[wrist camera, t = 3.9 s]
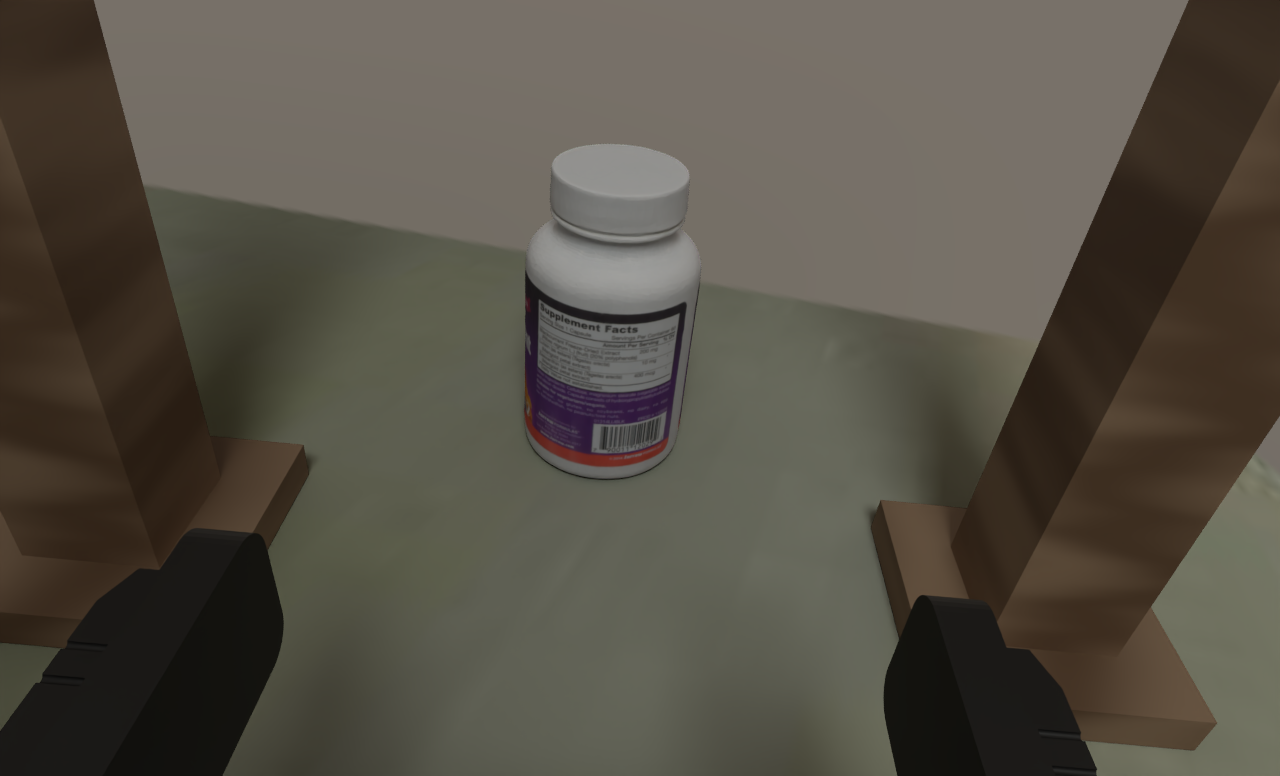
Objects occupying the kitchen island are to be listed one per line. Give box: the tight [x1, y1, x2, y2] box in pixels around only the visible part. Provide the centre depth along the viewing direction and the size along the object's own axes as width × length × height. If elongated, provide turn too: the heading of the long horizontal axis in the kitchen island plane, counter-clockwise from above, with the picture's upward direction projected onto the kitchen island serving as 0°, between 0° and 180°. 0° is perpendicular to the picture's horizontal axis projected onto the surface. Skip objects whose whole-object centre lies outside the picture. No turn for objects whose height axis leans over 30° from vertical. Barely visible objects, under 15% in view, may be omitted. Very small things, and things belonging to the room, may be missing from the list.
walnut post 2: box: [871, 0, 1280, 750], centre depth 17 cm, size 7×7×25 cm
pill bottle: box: [524, 144, 701, 479], centre depth 27 cm, size 5×5×10 cm
